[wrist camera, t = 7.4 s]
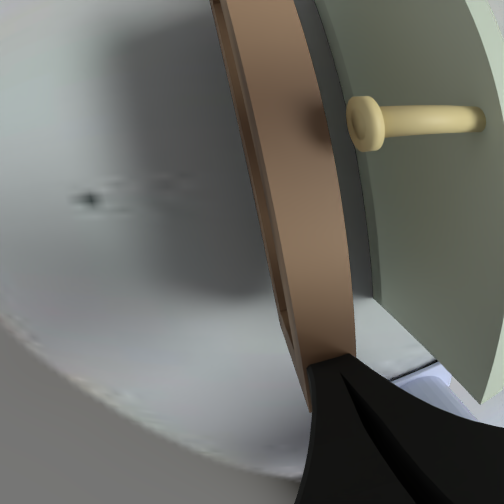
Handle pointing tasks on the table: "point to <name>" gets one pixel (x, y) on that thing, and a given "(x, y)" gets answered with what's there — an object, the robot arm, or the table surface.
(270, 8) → the picture frame
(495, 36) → the curved green slab
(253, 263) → the table surface
